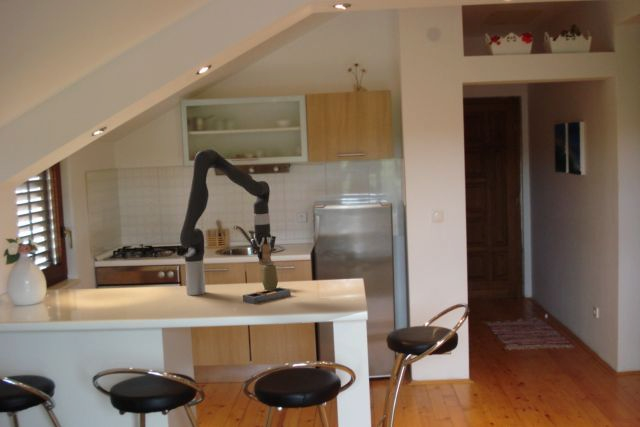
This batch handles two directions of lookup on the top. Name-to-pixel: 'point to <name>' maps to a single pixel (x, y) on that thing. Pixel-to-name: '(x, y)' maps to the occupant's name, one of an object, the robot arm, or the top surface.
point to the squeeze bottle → (270, 276)
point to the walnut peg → (265, 254)
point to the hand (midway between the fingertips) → (264, 258)
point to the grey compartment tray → (266, 295)
